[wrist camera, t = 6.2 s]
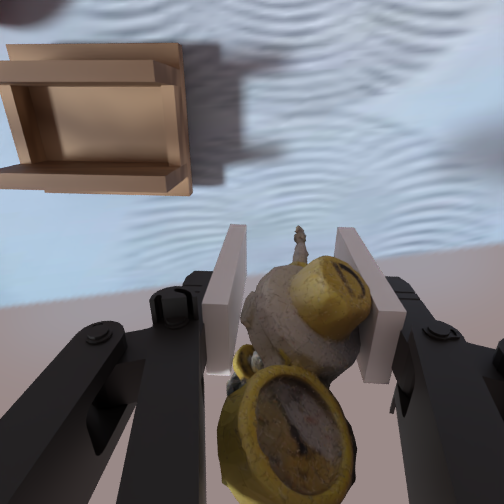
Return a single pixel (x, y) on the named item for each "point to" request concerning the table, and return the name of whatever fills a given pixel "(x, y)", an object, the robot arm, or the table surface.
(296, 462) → the regulator
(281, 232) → the table surface
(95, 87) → the stand
